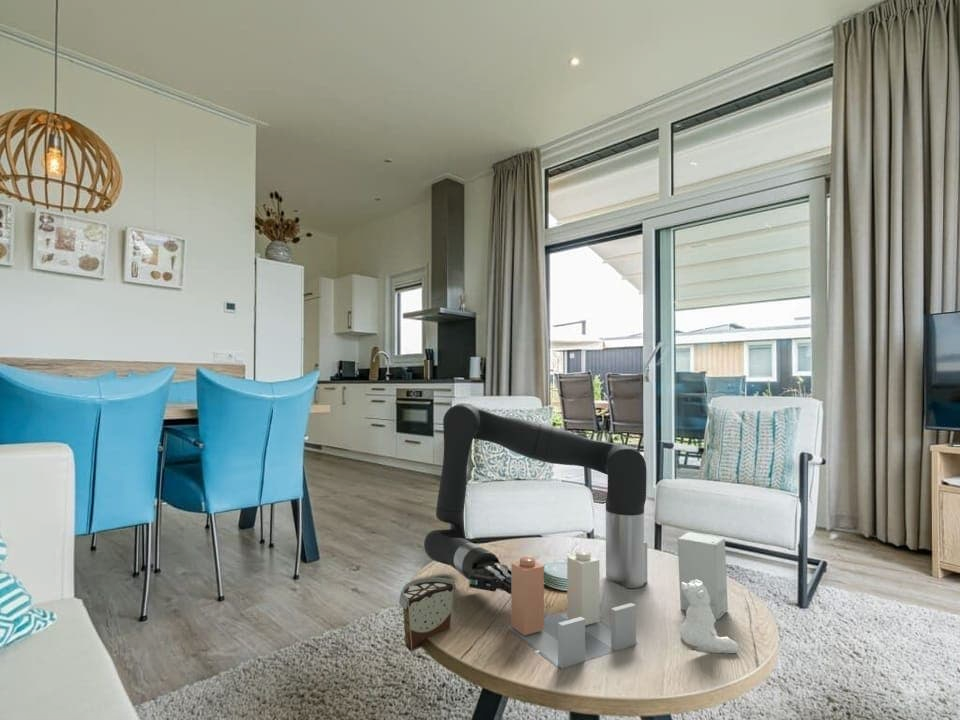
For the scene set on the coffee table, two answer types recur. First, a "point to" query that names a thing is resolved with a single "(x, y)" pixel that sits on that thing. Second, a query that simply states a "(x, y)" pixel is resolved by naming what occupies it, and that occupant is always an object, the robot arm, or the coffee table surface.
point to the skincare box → (704, 569)
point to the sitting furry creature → (702, 622)
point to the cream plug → (583, 587)
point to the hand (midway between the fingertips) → (517, 590)
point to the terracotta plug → (527, 596)
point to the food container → (426, 608)
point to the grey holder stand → (582, 637)
